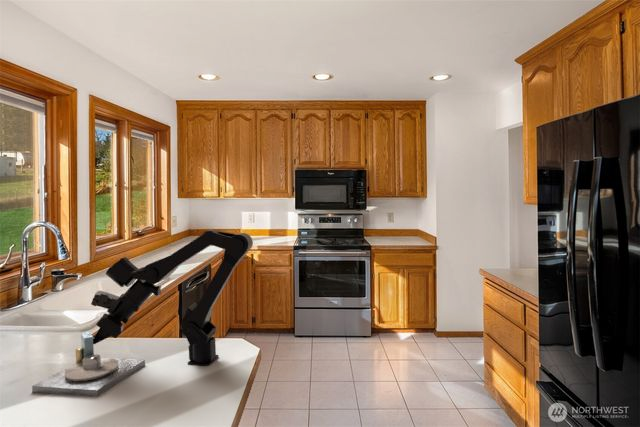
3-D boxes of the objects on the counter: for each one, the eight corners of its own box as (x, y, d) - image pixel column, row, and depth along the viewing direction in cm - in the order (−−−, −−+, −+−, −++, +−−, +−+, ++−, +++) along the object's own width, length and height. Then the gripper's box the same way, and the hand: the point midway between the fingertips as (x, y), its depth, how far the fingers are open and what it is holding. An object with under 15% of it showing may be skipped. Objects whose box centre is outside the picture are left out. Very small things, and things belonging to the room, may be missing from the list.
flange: (123, 371, 103) (121, 340, 102) (68, 385, 95) (66, 352, 95) (110, 355, 114) (109, 327, 114) (60, 367, 106) (59, 338, 106)
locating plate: (145, 365, 111) (144, 343, 110) (97, 396, 93) (95, 371, 93) (88, 362, 114) (87, 341, 114) (32, 392, 96) (31, 367, 96)
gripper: (116, 274, 119) (76, 316, 116) (103, 287, 101) (56, 336, 98) (146, 297, 122) (108, 338, 119) (139, 313, 104) (94, 362, 101)
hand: (92, 343), depth 109 cm, fingers closed
